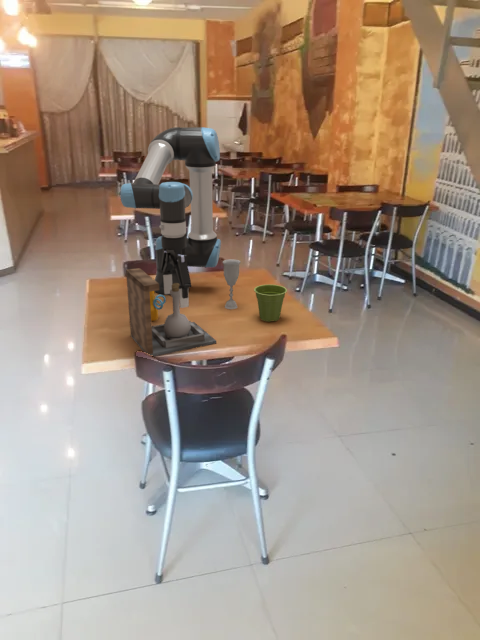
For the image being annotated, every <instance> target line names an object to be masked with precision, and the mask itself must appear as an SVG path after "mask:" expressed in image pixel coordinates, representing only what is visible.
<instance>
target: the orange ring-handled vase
mask: <svg viewBox="0 0 480 640" xmlns="http://www.w3.org/2000/svg"><path fill="white" fill-rule="evenodd" d="M152 278H153V277H152ZM153 279H154V280H155V278H153ZM160 297H161V298H163V301H162V299H160ZM166 301H167V299H166V296H165V294H157V295H156V292H155V291H150V309H151V322H156V321H158V320H159V318H160V317H159V313H160V312H159V311H160V310H162V309H163V307H164V305H165V303H166ZM158 302H159V303H158Z"/></svg>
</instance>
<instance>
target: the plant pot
mask: <svg viewBox="0 0 480 640" xmlns="http://www.w3.org/2000/svg"><path fill="white" fill-rule="evenodd" d="M253 292H254V293H255V296H256V300H257V307H258V313H259V319H260V320H262V321H264V322H277V321H279V320H280V318H281V312H282V308H283V302H284V298H285V296H286V293H287V292H288V289H287V288H286V287H285V286H283V285H278V284H261V285H257V286H255V287H254V288H253Z"/></svg>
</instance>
